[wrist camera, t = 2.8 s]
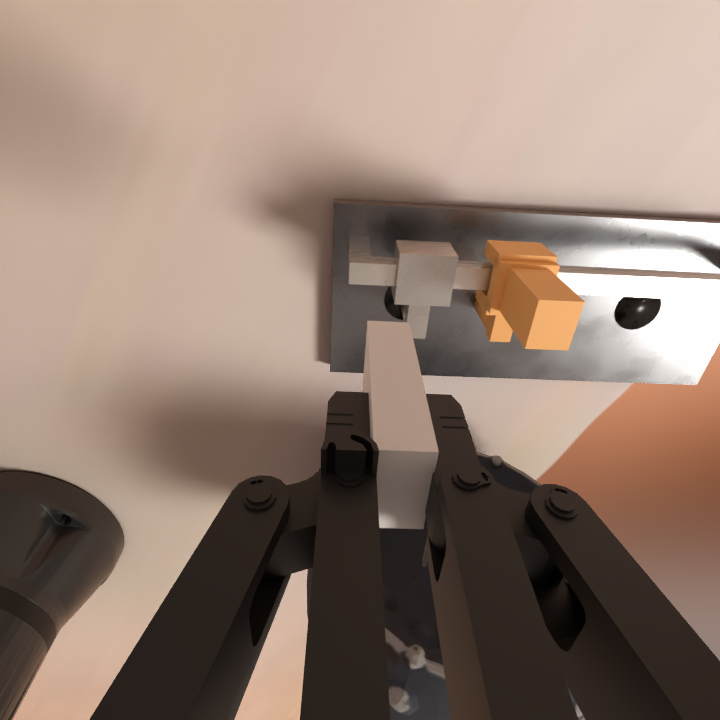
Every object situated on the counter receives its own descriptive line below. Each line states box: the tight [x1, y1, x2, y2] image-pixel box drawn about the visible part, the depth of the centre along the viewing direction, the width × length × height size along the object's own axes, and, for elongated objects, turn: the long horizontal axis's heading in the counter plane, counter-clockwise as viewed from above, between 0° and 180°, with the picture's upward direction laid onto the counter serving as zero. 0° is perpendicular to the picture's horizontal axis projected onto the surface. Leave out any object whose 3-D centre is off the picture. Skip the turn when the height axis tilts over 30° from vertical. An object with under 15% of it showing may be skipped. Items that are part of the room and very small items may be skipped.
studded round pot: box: [307, 452, 584, 720], centre depth 32 cm, size 11×20×20 cm, turn 84°
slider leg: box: [474, 240, 585, 351], centre depth 24 cm, size 3×6×10 cm, turn 177°
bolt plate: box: [330, 199, 720, 385], centre depth 31 cm, size 28×12×1 cm, turn 87°
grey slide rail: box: [349, 235, 720, 339], centre depth 27 cm, size 26×5×7 cm, turn 87°
